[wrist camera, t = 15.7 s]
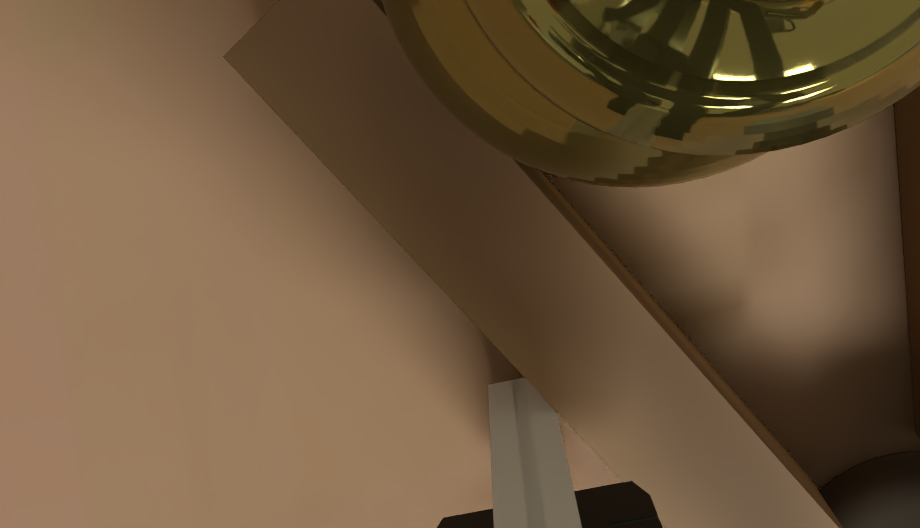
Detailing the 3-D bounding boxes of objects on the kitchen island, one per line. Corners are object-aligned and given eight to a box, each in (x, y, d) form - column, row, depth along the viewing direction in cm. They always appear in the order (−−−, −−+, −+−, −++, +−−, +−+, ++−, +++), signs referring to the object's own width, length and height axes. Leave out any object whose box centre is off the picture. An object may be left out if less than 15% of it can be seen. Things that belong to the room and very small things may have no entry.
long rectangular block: (717, 538, 18) (749, 616, 16) (265, 50, 16) (222, 57, 13) (808, 475, 18) (856, 546, 15) (355, -40, 15) (327, -50, 13)
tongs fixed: (795, 669, 19) (837, 762, 17) (681, -278, 14) (717, -339, 12) (1041, 637, 19) (1120, 729, 16) (1019, -364, 13) (1131, -447, 11)
